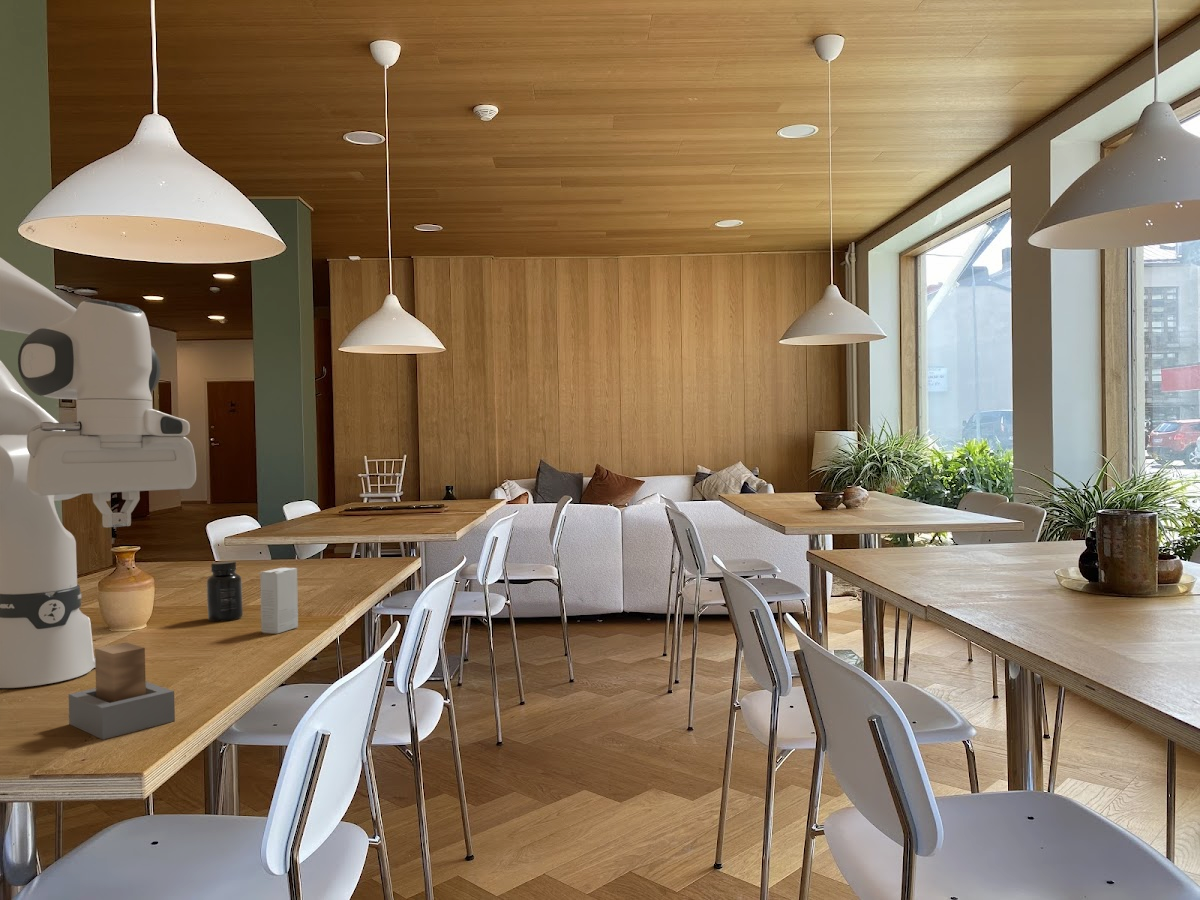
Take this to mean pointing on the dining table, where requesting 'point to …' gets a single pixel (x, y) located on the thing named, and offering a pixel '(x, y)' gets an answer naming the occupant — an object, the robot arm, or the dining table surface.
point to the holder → (121, 712)
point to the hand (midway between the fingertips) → (116, 526)
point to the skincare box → (279, 600)
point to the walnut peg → (120, 672)
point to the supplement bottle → (224, 592)
